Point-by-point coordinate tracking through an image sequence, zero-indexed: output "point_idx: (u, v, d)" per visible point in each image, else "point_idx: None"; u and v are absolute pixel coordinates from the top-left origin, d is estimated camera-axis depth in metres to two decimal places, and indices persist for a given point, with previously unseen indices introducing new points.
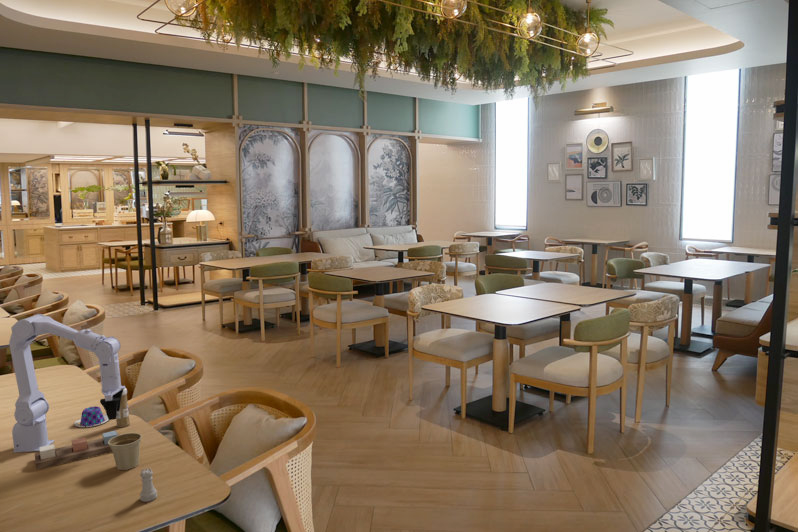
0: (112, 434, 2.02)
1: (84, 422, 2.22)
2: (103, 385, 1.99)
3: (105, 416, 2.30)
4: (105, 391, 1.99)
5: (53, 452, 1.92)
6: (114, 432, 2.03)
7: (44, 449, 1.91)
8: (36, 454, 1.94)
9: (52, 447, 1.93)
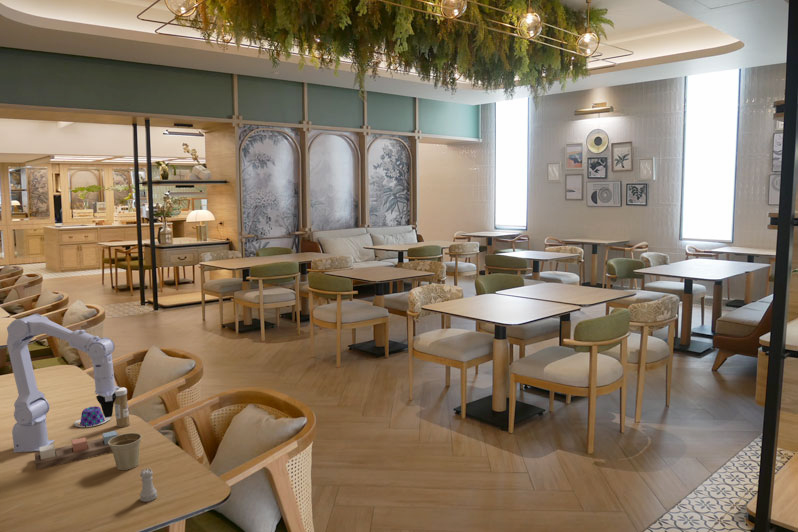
0: (112, 434, 2.02)
1: (84, 422, 2.22)
2: (99, 386, 1.97)
3: None
4: (101, 392, 1.97)
5: (53, 452, 1.92)
6: (114, 432, 2.03)
7: (44, 449, 1.91)
8: (36, 454, 1.94)
9: (52, 447, 1.93)
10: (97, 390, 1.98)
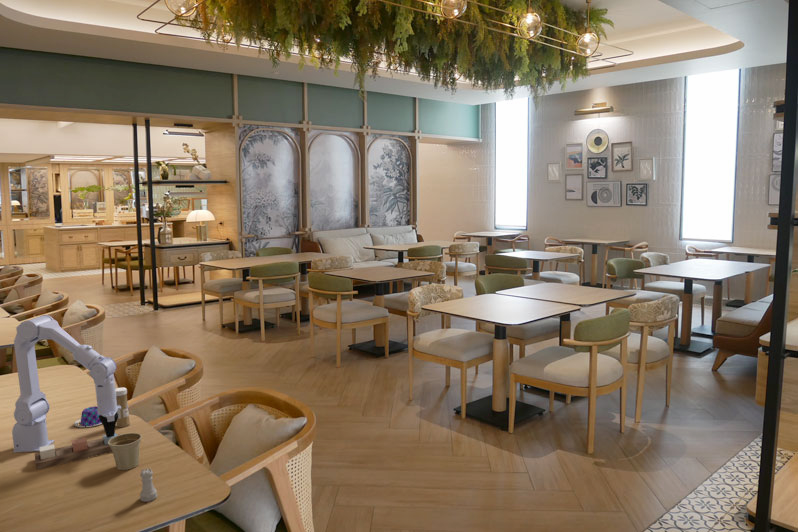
0: (112, 436, 2.02)
1: (84, 422, 2.22)
2: (101, 407, 1.98)
3: None
4: (103, 412, 1.98)
5: (53, 452, 1.92)
6: (114, 434, 2.03)
7: (44, 449, 1.91)
8: (36, 454, 1.94)
9: (52, 447, 1.93)
10: (99, 410, 1.98)
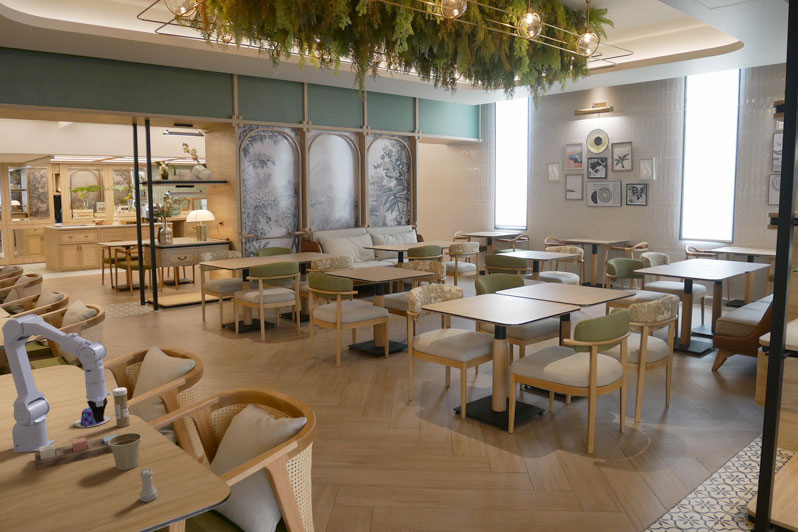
0: None
1: (84, 422, 2.22)
2: (90, 391, 1.96)
3: (105, 416, 2.30)
4: (92, 397, 1.96)
5: (53, 452, 1.92)
6: (114, 436, 2.03)
7: (44, 449, 1.91)
8: (36, 454, 1.94)
9: (52, 447, 1.93)
10: (88, 395, 1.96)
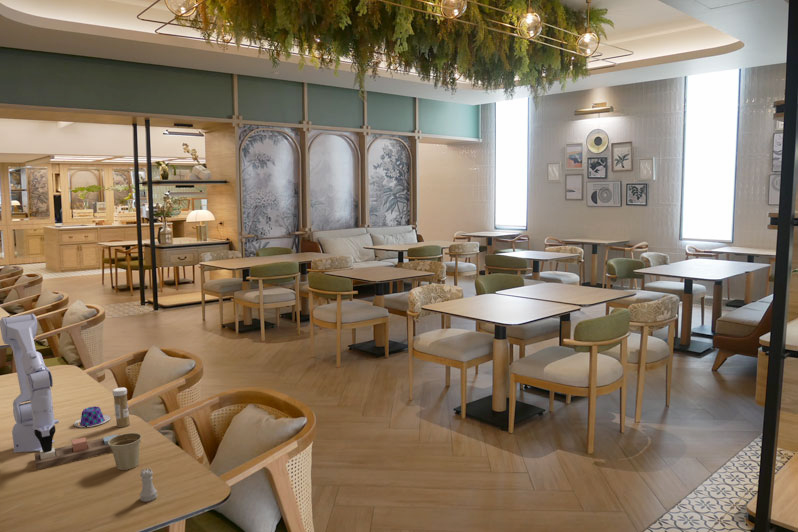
0: None
1: (85, 422, 2.22)
2: (36, 420, 1.89)
3: (104, 416, 2.30)
4: (39, 427, 1.89)
5: (54, 455, 1.92)
6: (114, 436, 2.03)
7: (44, 452, 1.92)
8: (36, 454, 1.94)
9: (52, 450, 1.93)
10: (34, 424, 1.89)
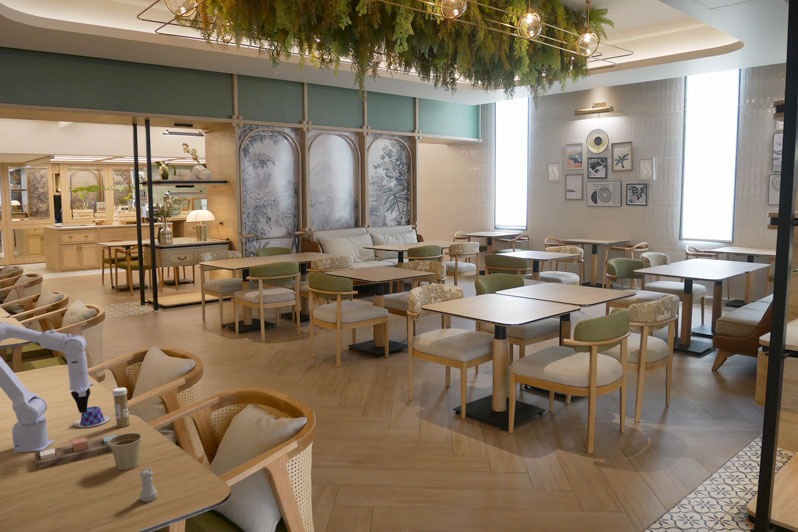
0: None
1: (85, 422, 2.22)
2: (73, 382, 2.02)
3: (104, 416, 2.30)
4: (75, 388, 2.02)
5: (54, 456, 1.92)
6: (114, 436, 2.03)
7: (45, 453, 1.92)
8: (36, 454, 1.94)
9: (52, 451, 1.93)
10: (71, 386, 2.03)
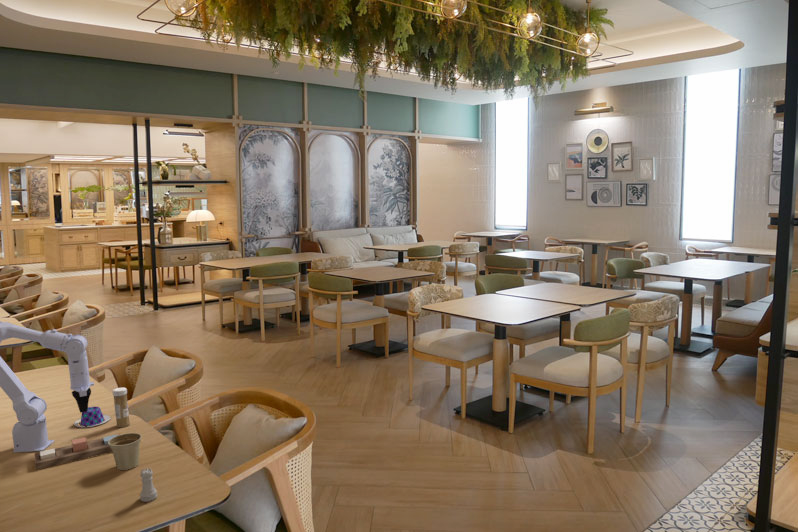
0: None
1: (85, 422, 2.22)
2: (73, 382, 2.03)
3: (103, 416, 2.30)
4: (76, 388, 2.03)
5: (54, 456, 1.92)
6: (114, 436, 2.03)
7: (45, 453, 1.92)
8: (36, 454, 1.94)
9: (52, 451, 1.93)
10: (72, 386, 2.03)
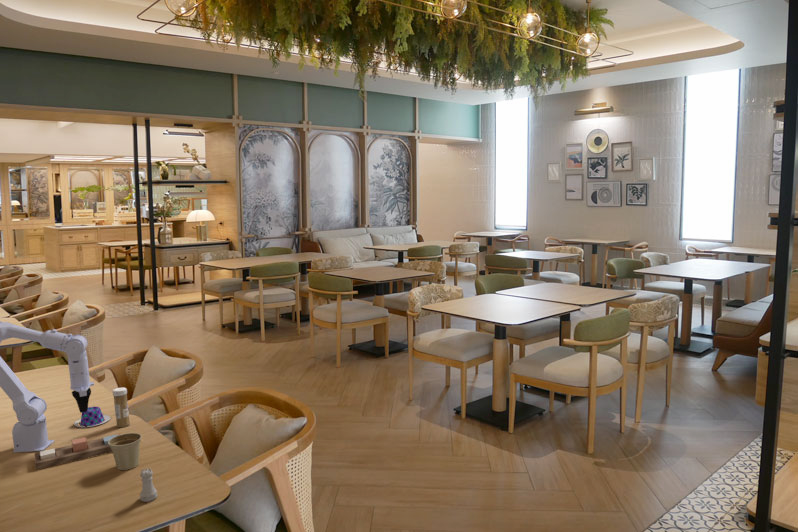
0: None
1: (85, 422, 2.22)
2: (73, 382, 2.03)
3: (103, 416, 2.30)
4: (76, 388, 2.03)
5: (54, 456, 1.92)
6: (114, 436, 2.03)
7: (45, 453, 1.92)
8: (36, 454, 1.94)
9: (52, 451, 1.93)
10: (72, 386, 2.03)
